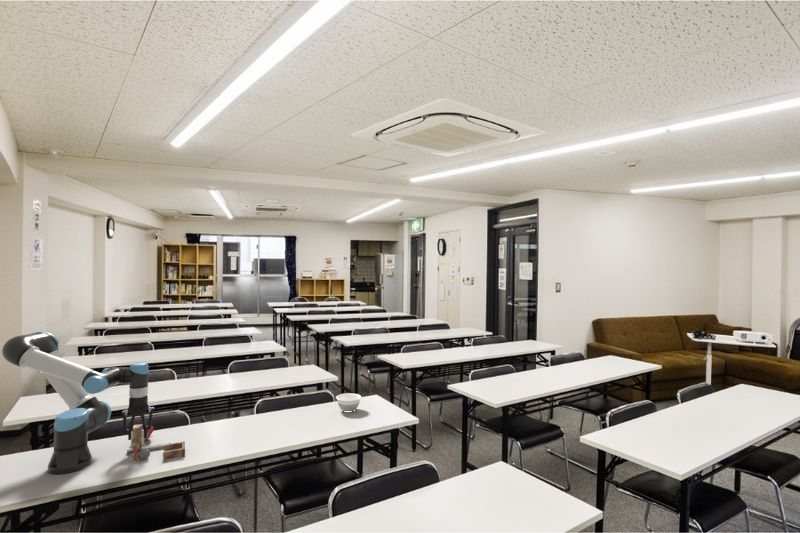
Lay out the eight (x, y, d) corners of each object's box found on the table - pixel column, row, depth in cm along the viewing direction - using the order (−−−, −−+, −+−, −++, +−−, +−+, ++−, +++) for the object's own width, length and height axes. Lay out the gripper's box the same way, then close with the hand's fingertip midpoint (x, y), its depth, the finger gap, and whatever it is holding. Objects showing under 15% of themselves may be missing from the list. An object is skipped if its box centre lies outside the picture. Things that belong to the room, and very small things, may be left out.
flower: (156, 438, 208) (157, 422, 212) (136, 440, 201) (136, 423, 205) (148, 445, 212) (149, 430, 216) (128, 447, 206) (129, 431, 210)
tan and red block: (130, 462, 185) (130, 435, 185) (133, 449, 197) (133, 425, 198) (139, 460, 186) (140, 434, 187) (142, 448, 199) (142, 423, 199)
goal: (163, 460, 188) (163, 452, 188) (163, 452, 197) (163, 444, 197) (184, 456, 192) (185, 448, 192) (184, 448, 201) (184, 441, 201)
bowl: (332, 413, 253) (332, 399, 253) (340, 405, 269) (340, 392, 269) (357, 415, 251) (357, 401, 251) (364, 407, 266) (364, 394, 266)
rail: (126, 454, 193) (126, 451, 193) (127, 452, 195) (127, 449, 195) (170, 447, 202) (170, 444, 202) (170, 445, 204) (171, 442, 204)
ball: (138, 462, 186) (138, 452, 186) (138, 458, 190) (139, 448, 190) (149, 460, 188) (149, 450, 188) (150, 456, 192) (150, 446, 192)
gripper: (116, 400, 189) (115, 451, 189) (158, 395, 197) (157, 445, 197) (118, 395, 196) (117, 445, 196) (159, 391, 204) (158, 439, 204)
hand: (137, 445), depth 196 cm, fingers closed on tan and red block, 4 cm apart
